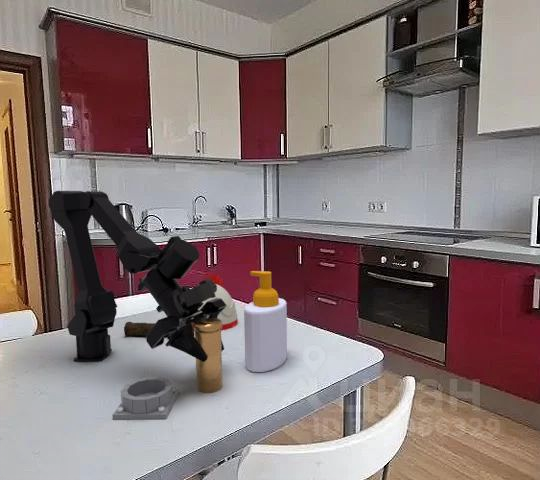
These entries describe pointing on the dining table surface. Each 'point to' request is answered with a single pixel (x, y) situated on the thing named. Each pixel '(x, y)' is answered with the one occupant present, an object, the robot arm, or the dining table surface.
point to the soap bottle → (265, 327)
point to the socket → (146, 399)
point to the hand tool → (139, 328)
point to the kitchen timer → (229, 312)
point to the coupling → (209, 354)
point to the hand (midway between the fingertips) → (214, 355)
